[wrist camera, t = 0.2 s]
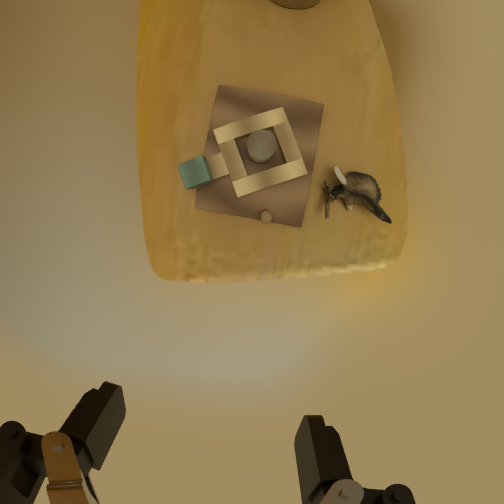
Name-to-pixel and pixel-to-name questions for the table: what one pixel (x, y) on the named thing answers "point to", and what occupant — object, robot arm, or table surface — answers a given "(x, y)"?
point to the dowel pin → (265, 216)
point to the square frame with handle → (231, 163)
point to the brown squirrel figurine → (355, 193)
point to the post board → (275, 194)
